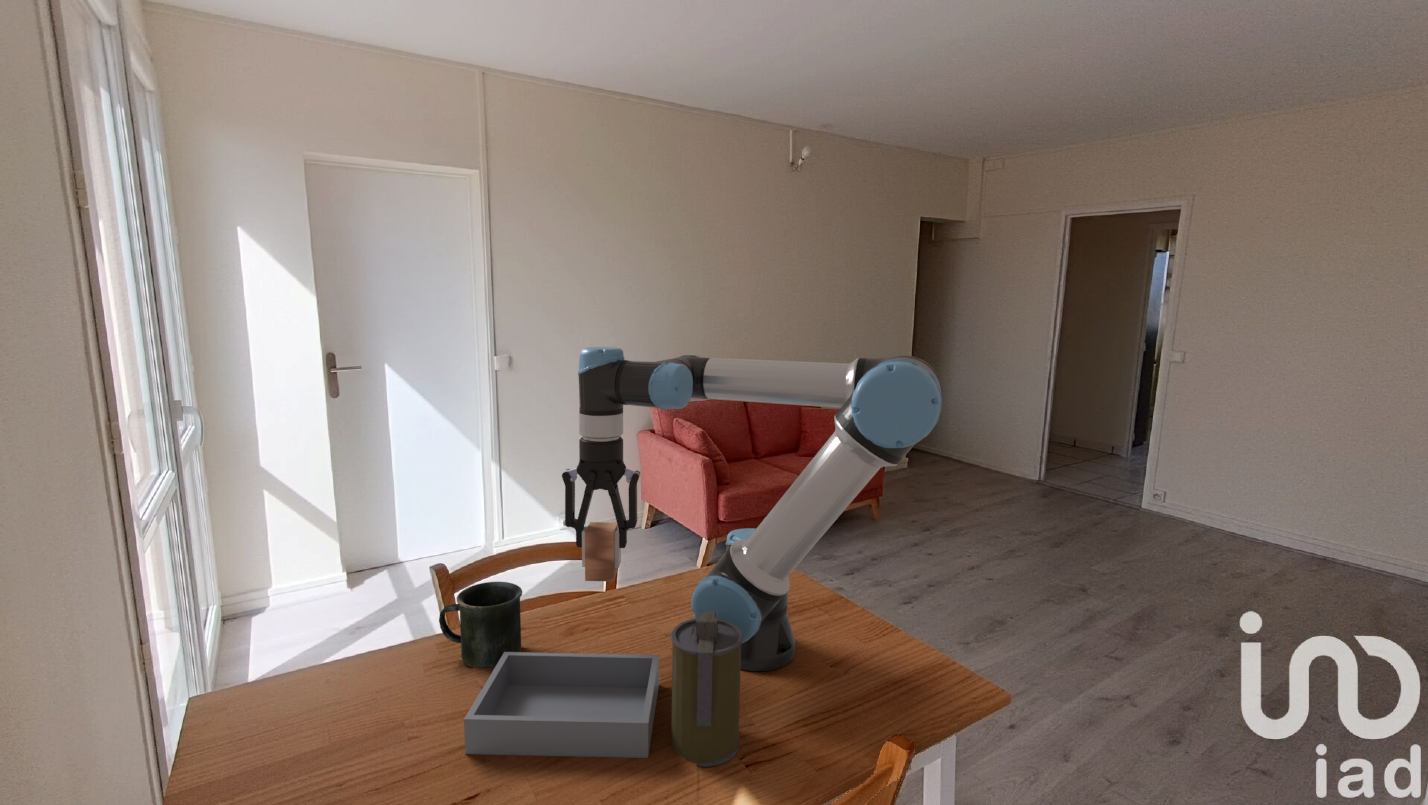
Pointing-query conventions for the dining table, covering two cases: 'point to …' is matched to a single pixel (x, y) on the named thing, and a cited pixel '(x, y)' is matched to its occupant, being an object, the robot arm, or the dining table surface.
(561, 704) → the bin
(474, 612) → the mug
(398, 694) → the dining table surface
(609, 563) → the block
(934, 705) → the dining table surface
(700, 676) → the canister
